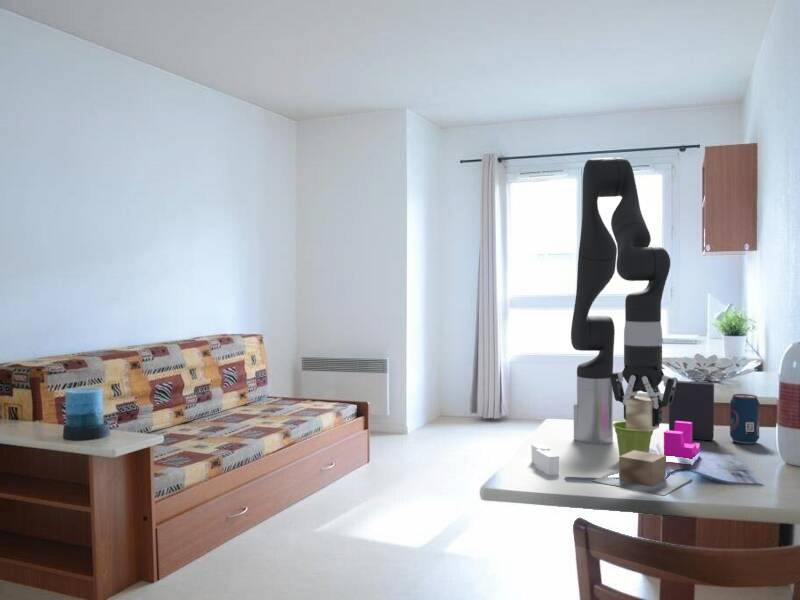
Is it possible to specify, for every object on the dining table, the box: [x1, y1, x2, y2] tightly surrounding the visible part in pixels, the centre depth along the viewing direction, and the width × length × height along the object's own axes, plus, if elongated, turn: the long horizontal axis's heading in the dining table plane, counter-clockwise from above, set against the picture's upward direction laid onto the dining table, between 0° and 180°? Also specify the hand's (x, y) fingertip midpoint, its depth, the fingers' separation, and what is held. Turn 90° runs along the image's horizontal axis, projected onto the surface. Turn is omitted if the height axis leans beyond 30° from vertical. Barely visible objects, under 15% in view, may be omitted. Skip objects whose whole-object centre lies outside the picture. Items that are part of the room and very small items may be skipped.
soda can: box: [729, 393, 761, 444], centre depth 184 cm, size 7×7×12 cm
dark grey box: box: [668, 380, 715, 441], centre depth 189 cm, size 11×4×15 cm, turn 63°
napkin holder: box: [531, 443, 560, 476], centre depth 157 cm, size 15×11×6 cm
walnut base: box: [592, 450, 693, 497], centre depth 147 cm, size 15×15×6 cm
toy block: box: [663, 421, 701, 459], centre depth 168 cm, size 15×6×8 cm, turn 148°
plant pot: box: [613, 420, 654, 456], centre depth 164 cm, size 9×9×9 cm
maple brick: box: [625, 396, 660, 432], centre depth 146 cm, size 5×5×6 cm
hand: (642, 423), depth 146 cm, fingers closed on maple brick, 5 cm apart
